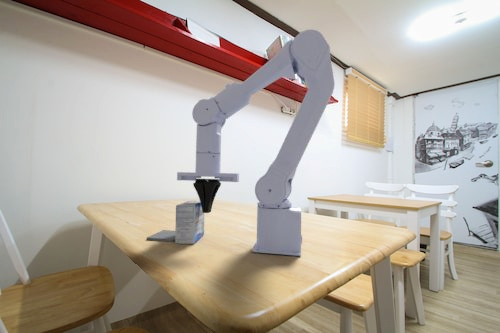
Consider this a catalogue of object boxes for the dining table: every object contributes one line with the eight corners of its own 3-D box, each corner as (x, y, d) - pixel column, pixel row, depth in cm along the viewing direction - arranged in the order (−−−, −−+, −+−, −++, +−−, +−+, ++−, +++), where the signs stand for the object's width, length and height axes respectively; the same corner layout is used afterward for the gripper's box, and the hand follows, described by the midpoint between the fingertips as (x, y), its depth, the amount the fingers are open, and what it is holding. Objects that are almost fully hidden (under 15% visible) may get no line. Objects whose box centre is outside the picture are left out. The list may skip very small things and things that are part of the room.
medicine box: (194, 245, 49) (195, 204, 49) (174, 244, 49) (175, 204, 49) (204, 235, 57) (205, 200, 57) (187, 234, 57) (188, 200, 57)
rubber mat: (186, 233, 57) (186, 231, 57) (172, 241, 50) (172, 239, 51) (163, 231, 58) (163, 230, 59) (146, 239, 52) (146, 237, 52)
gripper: (242, 155, 56) (240, 211, 55) (187, 155, 58) (185, 208, 58) (235, 153, 49) (233, 216, 48) (173, 152, 51) (171, 212, 51)
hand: (206, 212), depth 53 cm, fingers closed
